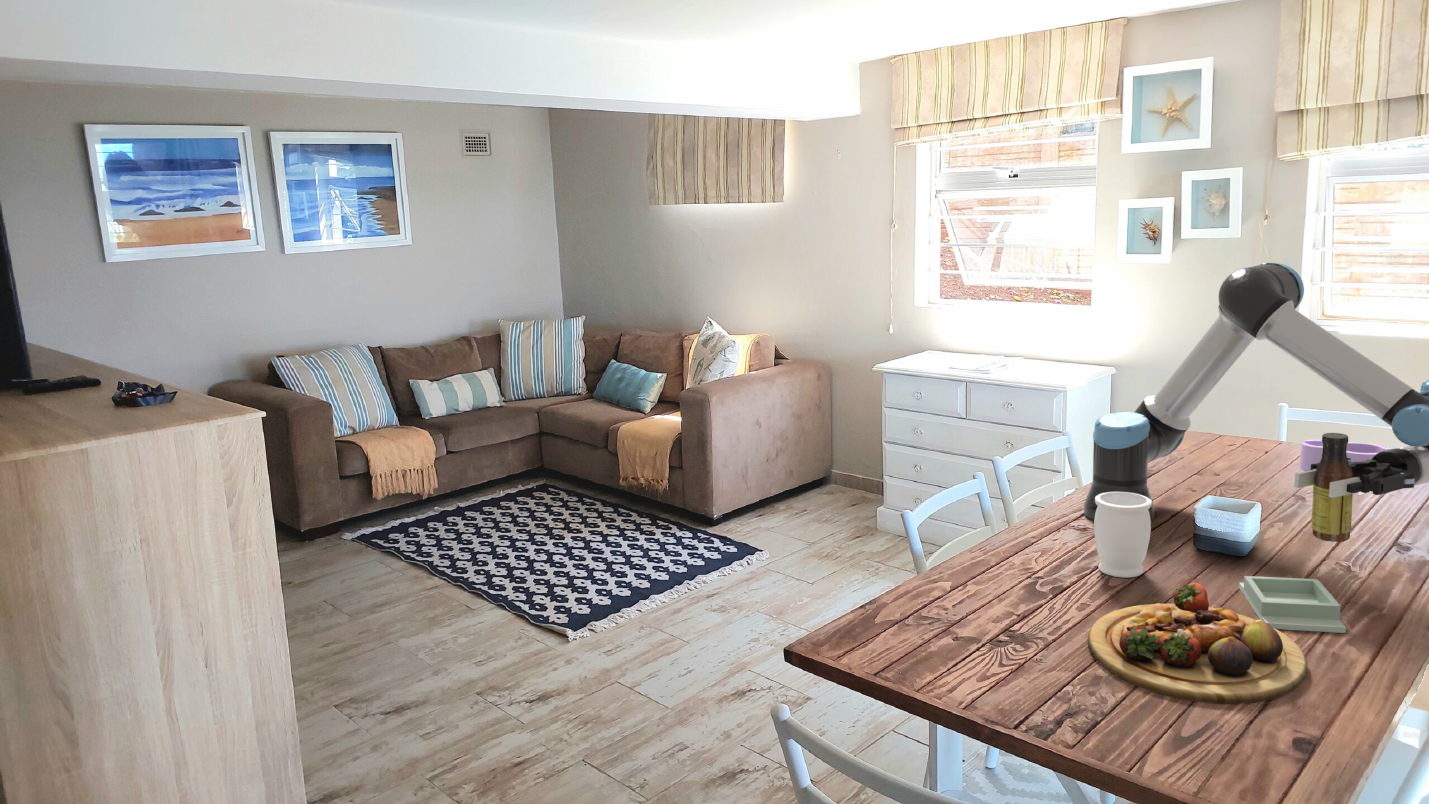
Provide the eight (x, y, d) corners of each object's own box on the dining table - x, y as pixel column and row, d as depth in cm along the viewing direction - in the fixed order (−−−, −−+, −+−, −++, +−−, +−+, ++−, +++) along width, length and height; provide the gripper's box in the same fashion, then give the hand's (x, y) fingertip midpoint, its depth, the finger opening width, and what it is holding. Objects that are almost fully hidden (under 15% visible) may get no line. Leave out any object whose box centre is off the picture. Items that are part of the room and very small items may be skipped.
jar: (1154, 581, 186) (1157, 507, 183) (1098, 580, 189) (1100, 506, 186) (1142, 561, 197) (1144, 490, 194) (1088, 560, 199) (1090, 490, 196)
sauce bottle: (1338, 531, 183) (1347, 430, 179) (1357, 543, 177) (1366, 438, 172) (1302, 532, 183) (1310, 431, 179) (1319, 543, 177) (1328, 439, 173)
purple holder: (1295, 472, 249) (1297, 446, 248) (1307, 461, 258) (1309, 436, 257) (1388, 484, 236) (1390, 457, 234) (1397, 472, 245) (1399, 446, 243)
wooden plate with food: (1123, 600, 179) (1124, 559, 178) (1323, 641, 159) (1326, 594, 157) (1058, 672, 156) (1058, 625, 154) (1283, 730, 135) (1286, 677, 133)
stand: (1265, 628, 165) (1266, 609, 164) (1239, 587, 182) (1240, 569, 181) (1345, 632, 161) (1347, 613, 161) (1310, 590, 178) (1312, 572, 178)
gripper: (1355, 437, 192) (1269, 453, 184) (1457, 459, 174) (1366, 478, 166) (1352, 474, 193) (1266, 491, 186) (1453, 499, 176) (1362, 519, 168)
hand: (1313, 485), depth 176 cm, fingers closed on sauce bottle, 6 cm apart
